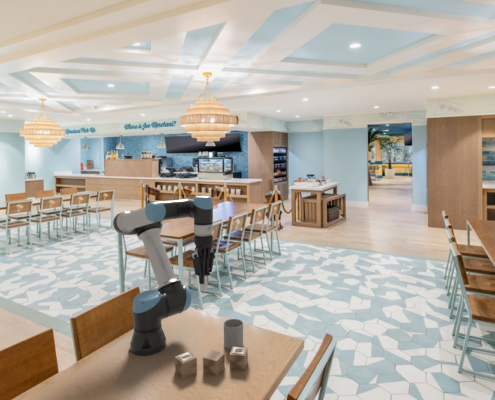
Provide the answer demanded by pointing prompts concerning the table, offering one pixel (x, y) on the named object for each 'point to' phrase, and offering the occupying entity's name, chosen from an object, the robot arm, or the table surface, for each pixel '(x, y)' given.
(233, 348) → the numbered block
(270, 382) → the table surface
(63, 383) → the table surface
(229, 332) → the cup
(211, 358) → the plain block
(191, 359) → the numbered block
